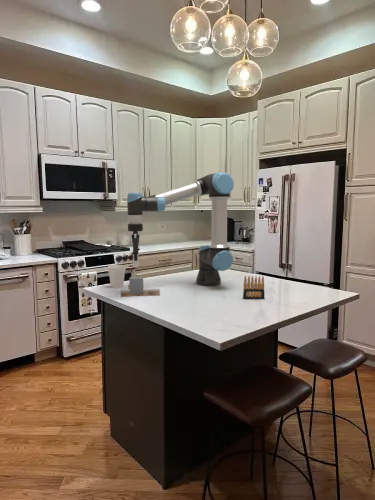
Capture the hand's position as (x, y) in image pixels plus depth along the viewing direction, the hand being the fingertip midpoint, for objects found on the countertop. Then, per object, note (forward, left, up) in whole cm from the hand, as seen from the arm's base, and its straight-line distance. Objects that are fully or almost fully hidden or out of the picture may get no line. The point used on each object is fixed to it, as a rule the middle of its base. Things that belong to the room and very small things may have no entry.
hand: (136, 264), depth 184 cm
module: (0, 0, -15) cm, 15 cm away
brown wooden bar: (-2, 0, -15) cm, 15 cm away
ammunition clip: (-59, +13, -17) cm, 63 cm away
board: (-2, 0, -16) cm, 16 cm away
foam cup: (+11, -17, -17) cm, 26 cm away
